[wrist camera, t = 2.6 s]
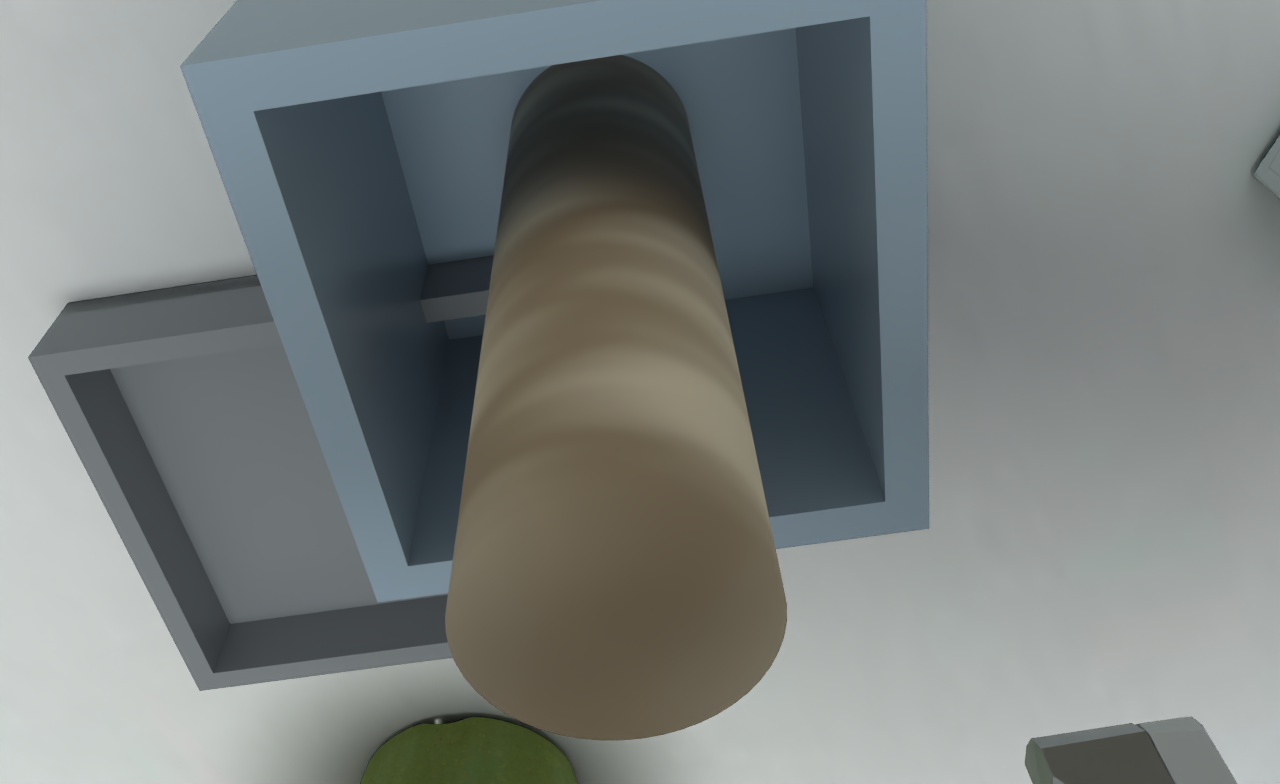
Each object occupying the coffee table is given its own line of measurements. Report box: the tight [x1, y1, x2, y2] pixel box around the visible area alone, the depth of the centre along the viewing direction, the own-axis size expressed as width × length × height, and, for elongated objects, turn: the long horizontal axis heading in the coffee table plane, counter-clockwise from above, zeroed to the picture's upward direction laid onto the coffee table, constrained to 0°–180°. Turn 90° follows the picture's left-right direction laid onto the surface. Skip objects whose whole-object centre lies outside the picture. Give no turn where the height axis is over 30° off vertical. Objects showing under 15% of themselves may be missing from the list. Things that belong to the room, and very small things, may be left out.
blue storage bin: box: [180, 0, 929, 602], centre depth 23 cm, size 11×11×9 cm
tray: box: [28, 255, 494, 691], centre depth 31 cm, size 11×11×2 cm
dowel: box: [445, 55, 787, 740], centre depth 20 cm, size 4×4×15 cm
